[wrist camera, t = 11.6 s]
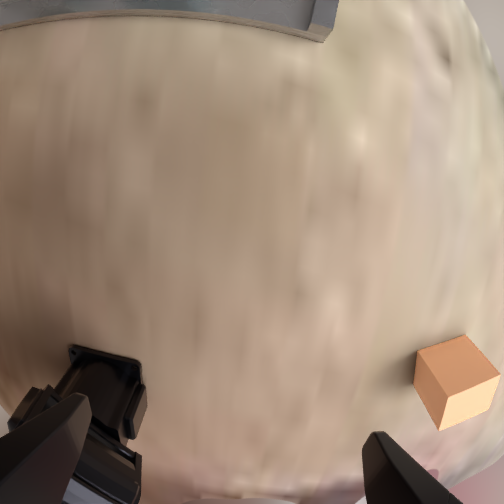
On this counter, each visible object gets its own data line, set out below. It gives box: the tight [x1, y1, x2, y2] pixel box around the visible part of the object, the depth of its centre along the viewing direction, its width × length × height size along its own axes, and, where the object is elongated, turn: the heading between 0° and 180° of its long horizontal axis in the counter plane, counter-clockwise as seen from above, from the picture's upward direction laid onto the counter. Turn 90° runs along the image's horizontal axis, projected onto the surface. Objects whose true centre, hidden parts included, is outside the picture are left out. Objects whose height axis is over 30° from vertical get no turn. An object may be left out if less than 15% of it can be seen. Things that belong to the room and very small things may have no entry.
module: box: [413, 335, 501, 431], centre depth 21 cm, size 5×4×6 cm
